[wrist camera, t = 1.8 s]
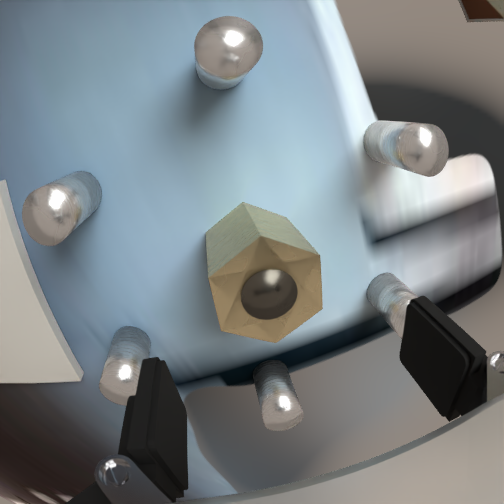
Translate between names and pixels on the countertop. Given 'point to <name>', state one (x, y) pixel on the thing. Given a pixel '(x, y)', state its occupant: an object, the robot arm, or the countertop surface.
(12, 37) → the countertop surface
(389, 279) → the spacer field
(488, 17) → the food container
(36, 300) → the mat
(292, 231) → the faceted candle holder
